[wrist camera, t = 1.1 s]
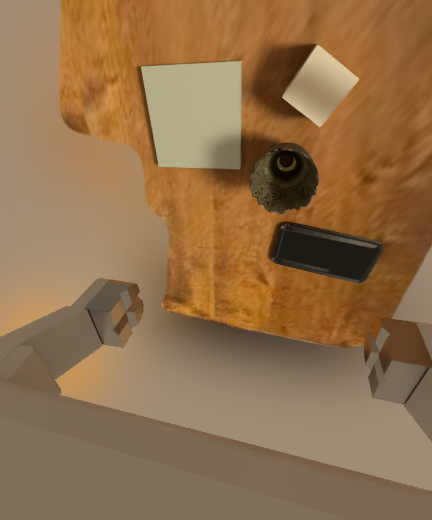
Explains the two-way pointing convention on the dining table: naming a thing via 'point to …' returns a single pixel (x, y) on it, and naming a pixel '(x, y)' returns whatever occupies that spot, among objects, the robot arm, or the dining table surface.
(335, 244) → the phone
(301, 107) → the letter cube
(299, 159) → the cup
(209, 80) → the sage board
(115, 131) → the dining table surface
